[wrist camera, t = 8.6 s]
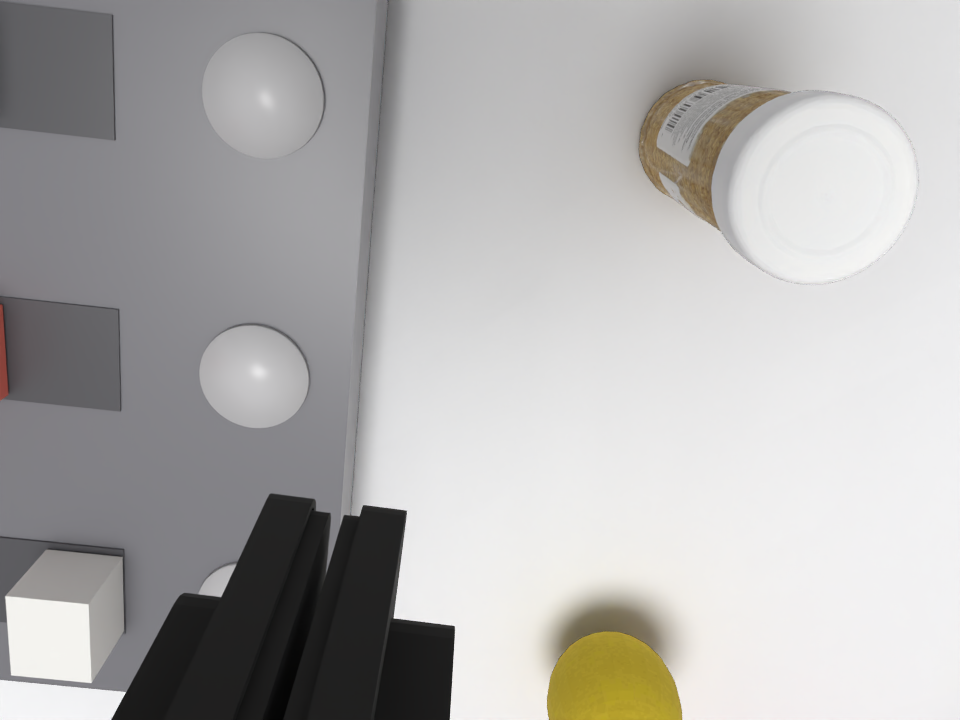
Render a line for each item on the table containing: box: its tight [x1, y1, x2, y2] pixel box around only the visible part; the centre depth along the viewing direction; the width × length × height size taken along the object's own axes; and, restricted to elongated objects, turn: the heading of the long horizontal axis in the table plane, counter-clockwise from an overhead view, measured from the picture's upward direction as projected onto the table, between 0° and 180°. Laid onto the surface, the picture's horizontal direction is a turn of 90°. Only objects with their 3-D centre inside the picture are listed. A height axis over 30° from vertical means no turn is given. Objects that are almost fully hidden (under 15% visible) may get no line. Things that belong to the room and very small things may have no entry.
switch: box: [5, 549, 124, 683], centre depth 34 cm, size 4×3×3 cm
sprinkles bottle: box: [639, 80, 919, 285], centre depth 27 cm, size 5×5×13 cm
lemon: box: [547, 631, 682, 720], centre depth 37 cm, size 6×6×8 cm
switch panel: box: [0, 0, 388, 692], centre depth 34 cm, size 30×16×4 cm, turn 174°
